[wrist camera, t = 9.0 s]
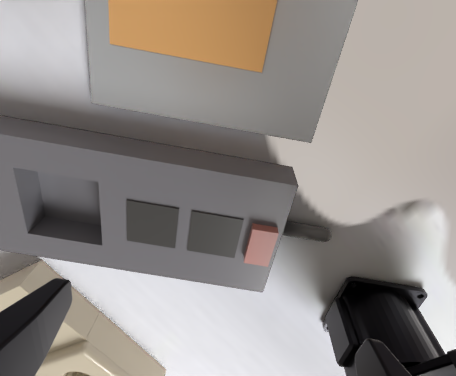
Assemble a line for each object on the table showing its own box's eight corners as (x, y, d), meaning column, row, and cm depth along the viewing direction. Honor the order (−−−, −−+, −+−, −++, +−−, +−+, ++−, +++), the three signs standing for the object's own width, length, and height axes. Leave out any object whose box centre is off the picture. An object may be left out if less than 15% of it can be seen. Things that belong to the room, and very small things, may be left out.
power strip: (352, 177, 19) (370, 203, 16) (310, 275, 23) (318, 308, 21) (-24, 111, 18) (-70, 127, 15) (7, 225, 23) (-25, 253, 20)
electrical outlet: (10, 296, 21) (158, 410, 28) (44, 256, 25) (168, 367, 32) (-49, 323, 23) (103, 423, 30) (-10, 283, 27) (118, 381, 34)
